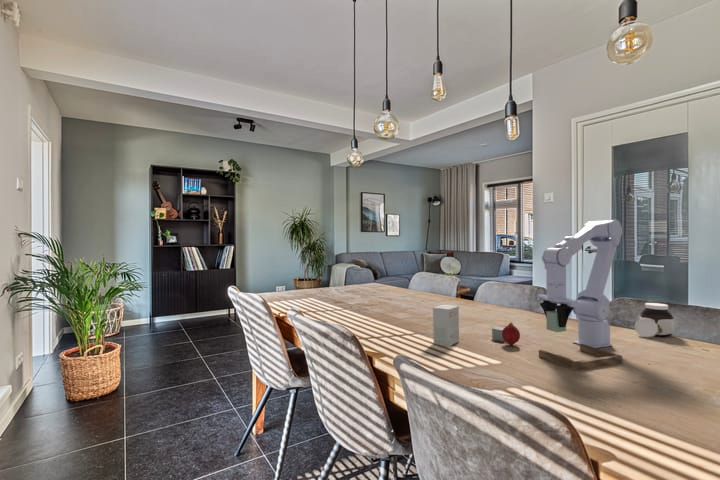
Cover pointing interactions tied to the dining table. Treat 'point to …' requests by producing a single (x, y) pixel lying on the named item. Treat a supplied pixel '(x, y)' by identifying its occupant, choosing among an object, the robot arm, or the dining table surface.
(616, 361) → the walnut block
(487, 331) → the dining table surface
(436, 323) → the small box
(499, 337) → the light gray block
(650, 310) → the spread jar
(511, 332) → the red round fruit
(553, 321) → the sage block
